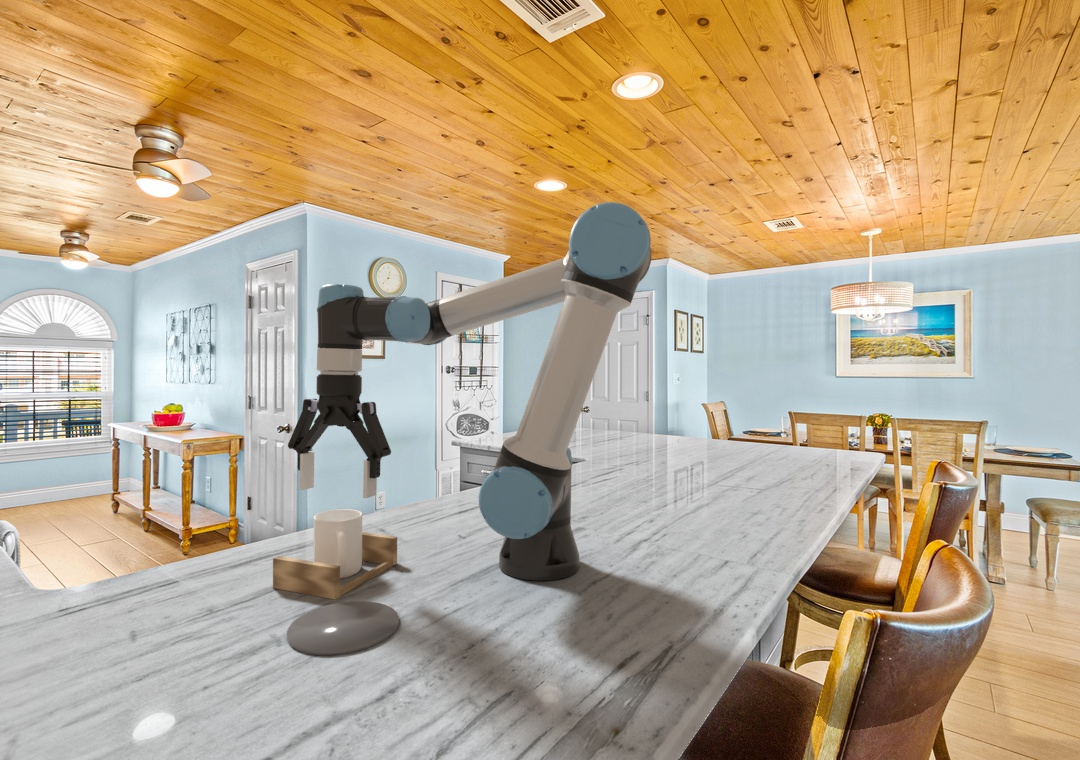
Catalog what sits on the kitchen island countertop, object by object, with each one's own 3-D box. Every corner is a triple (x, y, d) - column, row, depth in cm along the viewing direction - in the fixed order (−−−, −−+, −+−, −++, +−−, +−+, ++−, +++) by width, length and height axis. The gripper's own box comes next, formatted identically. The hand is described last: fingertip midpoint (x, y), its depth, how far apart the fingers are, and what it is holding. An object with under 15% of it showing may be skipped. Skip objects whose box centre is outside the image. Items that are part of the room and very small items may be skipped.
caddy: (397, 563, 104) (397, 536, 104) (334, 599, 88) (335, 568, 88) (342, 554, 109) (342, 529, 108) (272, 588, 92) (273, 558, 92)
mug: (367, 583, 95) (367, 524, 94) (315, 591, 91) (315, 529, 91) (359, 560, 105) (359, 507, 105) (312, 566, 102) (312, 511, 102)
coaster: (418, 614, 83) (418, 610, 83) (354, 664, 69) (354, 659, 69) (336, 599, 88) (336, 595, 88) (261, 643, 74) (261, 638, 74)
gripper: (412, 375, 97) (409, 495, 97) (298, 371, 105) (297, 481, 106) (387, 375, 90) (384, 504, 90) (267, 371, 98) (266, 489, 98)
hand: (337, 492), depth 98 cm, fingers open, 13 cm apart
